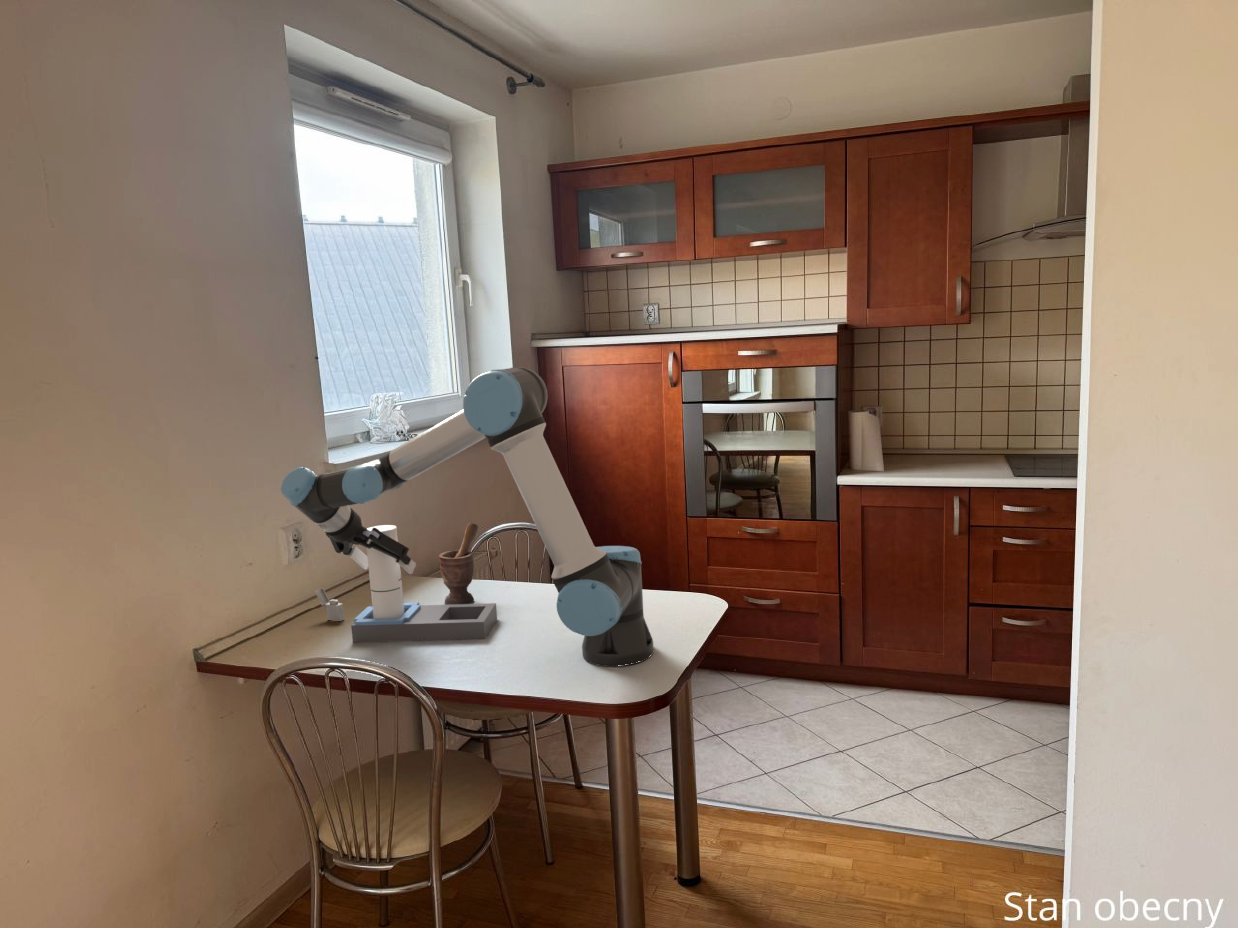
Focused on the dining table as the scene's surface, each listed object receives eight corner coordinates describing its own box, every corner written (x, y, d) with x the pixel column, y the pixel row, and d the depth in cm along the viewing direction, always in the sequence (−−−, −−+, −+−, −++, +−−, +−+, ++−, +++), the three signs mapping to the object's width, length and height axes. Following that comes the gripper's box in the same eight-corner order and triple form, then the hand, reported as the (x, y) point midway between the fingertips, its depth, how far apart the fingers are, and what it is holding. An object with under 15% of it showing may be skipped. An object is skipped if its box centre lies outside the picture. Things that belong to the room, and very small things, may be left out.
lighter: (344, 619, 211) (341, 589, 209) (340, 622, 209) (336, 591, 208) (322, 617, 214) (319, 586, 212) (318, 619, 212) (314, 588, 211)
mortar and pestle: (459, 593, 227) (453, 520, 224) (488, 594, 225) (482, 521, 221) (437, 607, 217) (430, 531, 213) (467, 608, 214) (460, 532, 211)
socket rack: (497, 618, 205) (495, 599, 204) (484, 638, 192) (483, 618, 191) (373, 622, 208) (371, 603, 207) (352, 641, 195) (350, 622, 194)
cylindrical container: (410, 626, 203) (401, 524, 200) (399, 636, 196) (389, 531, 193) (381, 626, 204) (372, 525, 201) (370, 636, 197) (359, 532, 194)
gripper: (287, 530, 188) (343, 576, 204) (374, 537, 177) (426, 585, 193) (302, 502, 192) (356, 549, 208) (389, 507, 181) (438, 556, 197)
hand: (390, 566), depth 200 cm, fingers open, 13 cm apart
